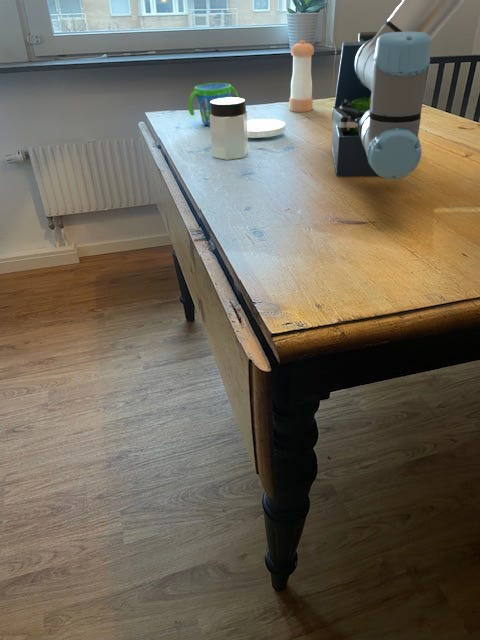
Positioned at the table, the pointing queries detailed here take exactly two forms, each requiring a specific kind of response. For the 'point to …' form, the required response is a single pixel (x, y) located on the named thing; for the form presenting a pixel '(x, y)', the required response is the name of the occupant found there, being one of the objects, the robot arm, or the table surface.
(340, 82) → the lunchbox lid
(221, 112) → the jar
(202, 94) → the snack cup
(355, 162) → the box
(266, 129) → the plastic lid
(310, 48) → the pepper shaker
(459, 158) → the table surface
